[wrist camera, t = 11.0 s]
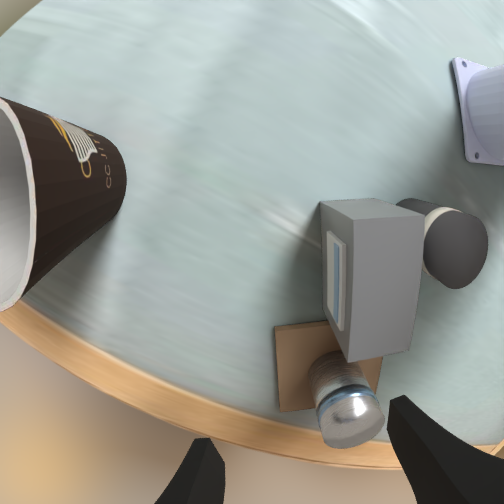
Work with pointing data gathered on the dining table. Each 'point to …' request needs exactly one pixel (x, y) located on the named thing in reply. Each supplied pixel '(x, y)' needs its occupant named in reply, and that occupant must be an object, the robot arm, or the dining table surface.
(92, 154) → the coffee mug
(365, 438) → the cylinder
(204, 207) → the dining table surface
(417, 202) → the banded grey cylinder
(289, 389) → the board
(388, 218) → the box
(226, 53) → the dining table surface
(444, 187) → the dining table surface
